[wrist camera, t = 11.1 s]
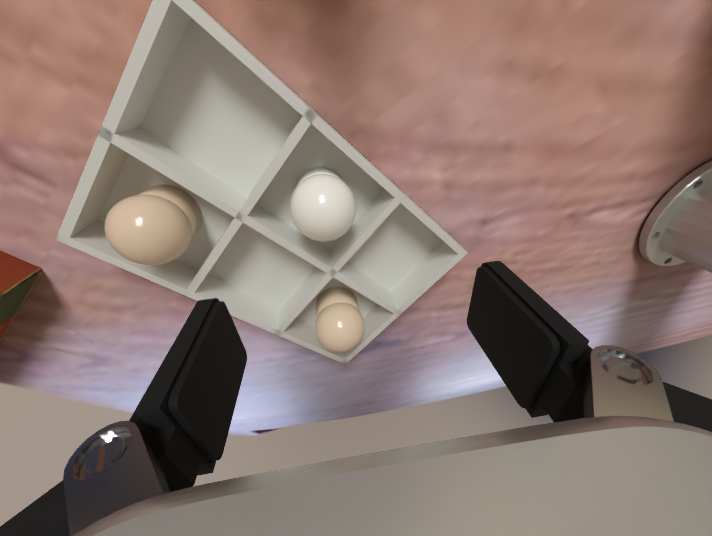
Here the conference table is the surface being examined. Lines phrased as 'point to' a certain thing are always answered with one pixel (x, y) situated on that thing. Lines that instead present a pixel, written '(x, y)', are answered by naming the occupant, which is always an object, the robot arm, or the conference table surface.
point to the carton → (14, 287)
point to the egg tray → (248, 187)
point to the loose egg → (322, 205)
